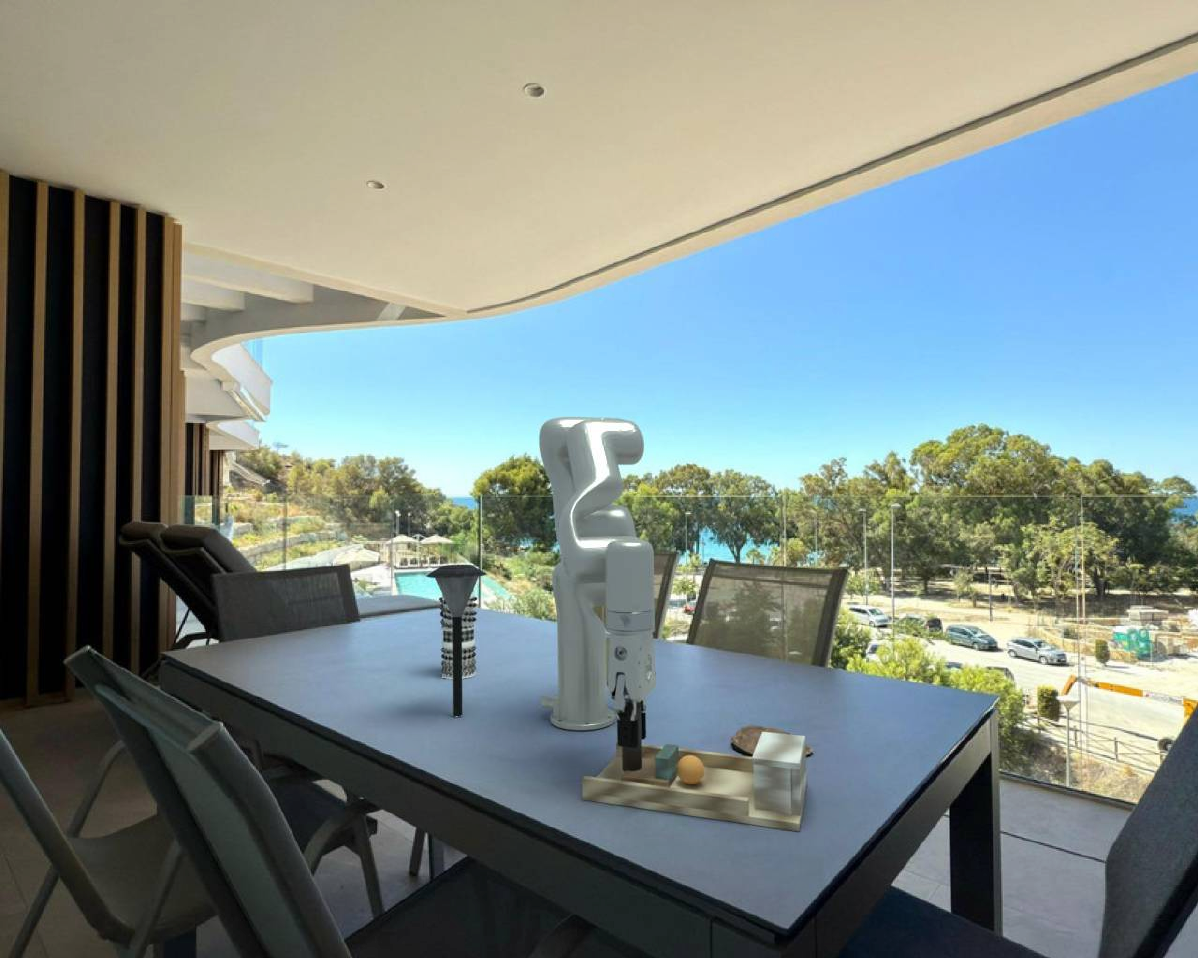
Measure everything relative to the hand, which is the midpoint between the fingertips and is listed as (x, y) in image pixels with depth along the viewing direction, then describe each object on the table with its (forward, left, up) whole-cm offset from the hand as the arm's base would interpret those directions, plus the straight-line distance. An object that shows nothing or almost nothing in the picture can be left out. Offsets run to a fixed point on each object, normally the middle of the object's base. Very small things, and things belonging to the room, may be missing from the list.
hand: (631, 740), depth 105 cm
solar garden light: (-43, +20, -6) cm, 48 cm away
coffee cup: (-20, +55, -6) cm, 59 cm away
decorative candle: (-60, +48, -6) cm, 77 cm away
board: (+10, 0, -6) cm, 12 cm away
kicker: (+3, 0, -5) cm, 6 cm away
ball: (+9, 0, -3) cm, 10 cm away
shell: (+17, +22, -7) cm, 29 cm away
